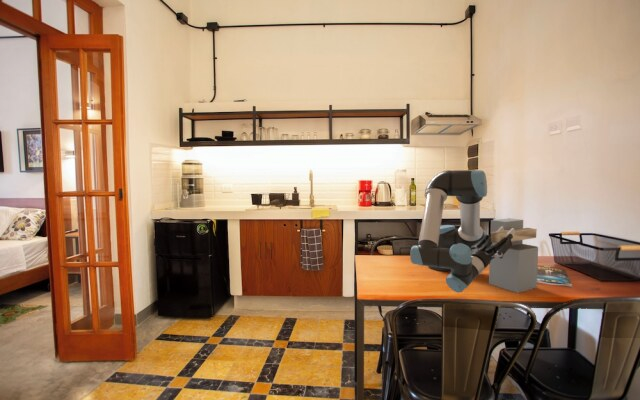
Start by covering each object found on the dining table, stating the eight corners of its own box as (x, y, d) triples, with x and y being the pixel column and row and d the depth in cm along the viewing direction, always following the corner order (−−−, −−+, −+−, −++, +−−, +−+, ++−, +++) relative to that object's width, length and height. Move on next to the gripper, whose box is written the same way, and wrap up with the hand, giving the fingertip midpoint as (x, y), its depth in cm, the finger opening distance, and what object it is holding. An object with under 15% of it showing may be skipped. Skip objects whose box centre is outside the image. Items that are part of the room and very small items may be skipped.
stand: (488, 283, 153) (490, 220, 150) (507, 279, 159) (509, 218, 157) (517, 292, 141) (520, 223, 138) (536, 287, 147) (539, 221, 145)
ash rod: (490, 241, 138) (491, 232, 138) (527, 236, 150) (527, 227, 150) (499, 243, 135) (500, 233, 134) (536, 237, 147) (536, 228, 146)
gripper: (493, 259, 123) (526, 225, 131) (455, 250, 138) (487, 220, 147) (499, 275, 125) (531, 240, 134) (461, 264, 140) (492, 233, 149)
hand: (508, 229), depth 140 cm, fingers closed on ash rod, 4 cm apart
